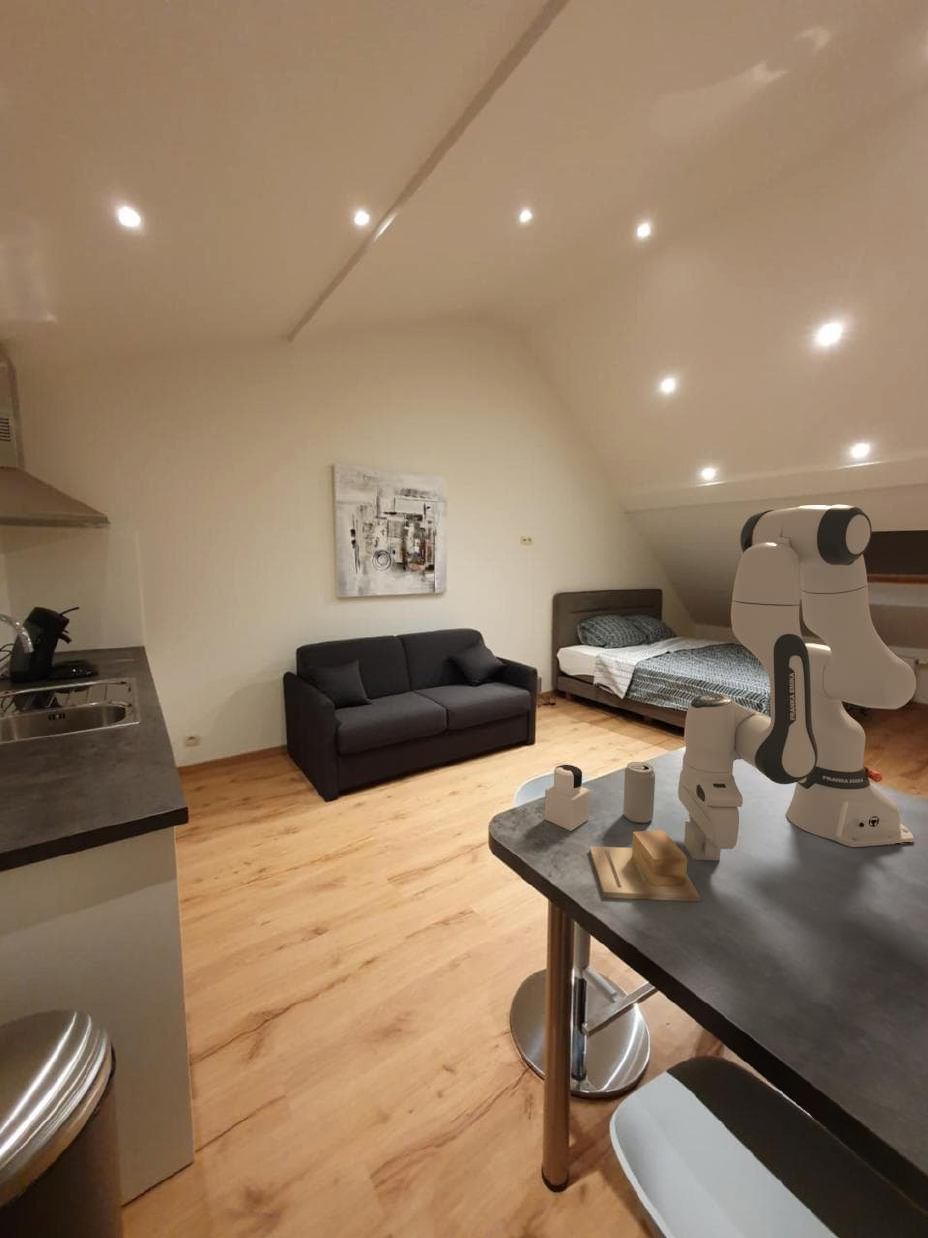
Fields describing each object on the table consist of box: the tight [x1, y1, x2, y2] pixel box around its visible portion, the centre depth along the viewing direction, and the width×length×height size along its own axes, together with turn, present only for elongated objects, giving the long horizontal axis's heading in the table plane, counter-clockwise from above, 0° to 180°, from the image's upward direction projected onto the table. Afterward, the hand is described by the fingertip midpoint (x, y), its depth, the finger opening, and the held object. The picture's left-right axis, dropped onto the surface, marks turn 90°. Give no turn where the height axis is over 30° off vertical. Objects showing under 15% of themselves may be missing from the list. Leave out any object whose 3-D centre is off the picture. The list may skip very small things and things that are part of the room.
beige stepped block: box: [544, 764, 591, 832], centre depth 116 cm, size 7×7×12 cm
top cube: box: [683, 821, 722, 861], centre depth 104 cm, size 5×5×5 cm
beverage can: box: [622, 761, 656, 824], centre depth 117 cm, size 6×6×12 cm
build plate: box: [589, 845, 700, 902], centre depth 97 cm, size 16×14×1 cm
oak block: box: [631, 829, 688, 886], centre depth 96 cm, size 6×9×5 cm, turn 5°
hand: (702, 844), depth 104 cm, fingers closed on top cube, 5 cm apart
